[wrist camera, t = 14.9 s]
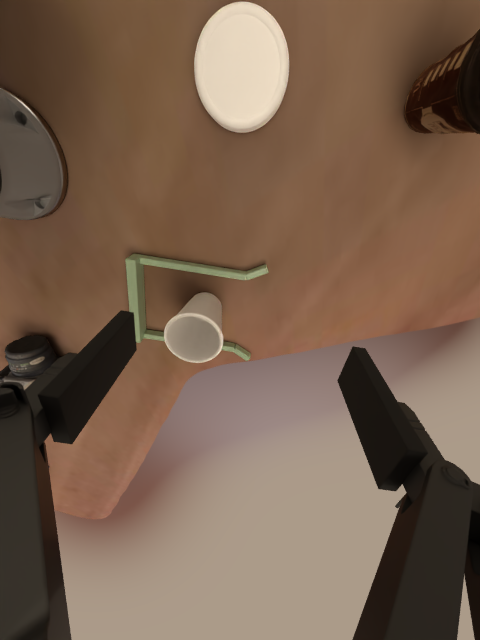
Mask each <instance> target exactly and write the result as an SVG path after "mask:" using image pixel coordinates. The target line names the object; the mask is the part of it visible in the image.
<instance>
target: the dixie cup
mask: <svg viewBox="0 0 480 640" xmlns="http://www.w3.org/2000/svg"><path fill="white" fill-rule="evenodd" d="M164 339H165V343H166V345H167V347H168V348H169V350H170V351H171V352H172V353H173V354H174V355H176V356H177V357H179V358H180V359H182V360H185V361H188V362H194V363H201V362H206V361H209V360H211V359H213V358H214V357H216V356H217V355H218V354H219V352H220V351H221V349H222V346H223V335H222V305H221V302H220V301H219V299H218V298H217V297H216V296H214V295H213V294H211V293H206V292H202V293H198V294H196V295H195V296H193V298H192V299H190V301H189V302H188V303H187V304H186V305H185V306H184V307H183V309H182V310H181V311H180V312H179V313H178V314H177V315H176V316H175V317H173V318H172V319H171V320H170V321H169V322H168V323H167V325H166V327H165V330H164Z"/></svg>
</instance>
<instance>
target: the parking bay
mask: <svg viewBox="0 0 480 640" xmlns="http://www.w3.org/2000/svg"><path fill="white" fill-rule="evenodd" d="M125 261H126V273H127V286H128V298H129V310H130V312H134V321H135V335H136V342H138V343H140V342H141V341H142V340H143V338H147V339H153V340H160V341H165V339H164V332H160V331H154V330H146V310H145V288H144V265H143V264H145V265H151V266H157V267H164V268H170V269H176V270H182V271H189V272H195V273H201V274H208V275H214V276H220V277H226V278H233V279H239V280H245V279H247V280H250V279H252V278H255V277H258V276H261V275H264V274H267V273H268V268H267V265H266V264H265V265H262V266H259V267H256V268H254V269H251V270H248V271H240V270H234V269H228V268H221V267H215V266H209V265H203V264H196V263H190V262H184V261H178V260H171V259H165V258H159V257H153V256H146V255H140V254H132V255H131V256H129V257H128V258H126V259H125ZM221 350H225V351H231V352H234V353H236V354H237V355H239V356H240V357H241V358H243V359H244V360H246V361H248V360H249V359H250V356H251V353H249V352H248V351H246V350H245V349H243V348H242V347H240V346H239V345H238V344H235V343H231V342H225V341H223V346H222V349H221Z"/></svg>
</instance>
